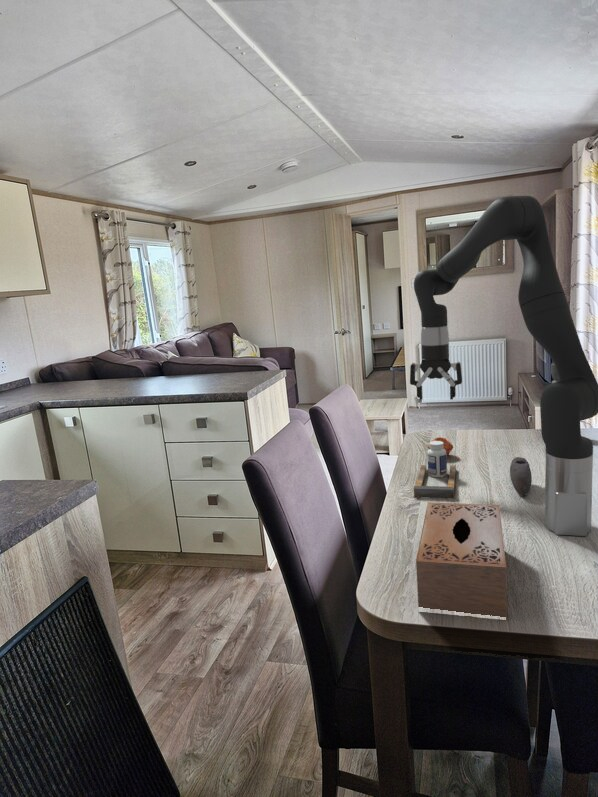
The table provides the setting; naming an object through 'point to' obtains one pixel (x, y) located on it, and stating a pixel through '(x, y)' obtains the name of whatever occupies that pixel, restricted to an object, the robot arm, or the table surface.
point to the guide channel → (434, 490)
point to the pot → (447, 445)
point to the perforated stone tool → (521, 475)
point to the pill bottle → (437, 459)
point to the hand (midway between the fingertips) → (436, 399)
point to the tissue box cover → (462, 559)
